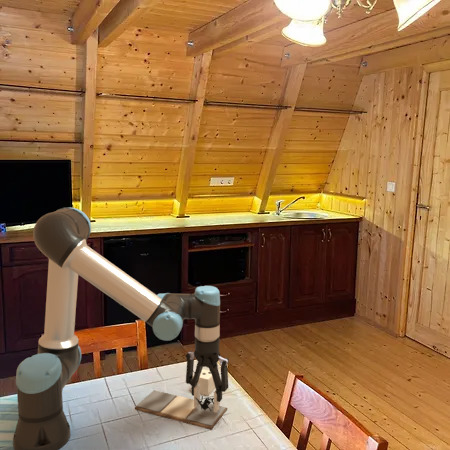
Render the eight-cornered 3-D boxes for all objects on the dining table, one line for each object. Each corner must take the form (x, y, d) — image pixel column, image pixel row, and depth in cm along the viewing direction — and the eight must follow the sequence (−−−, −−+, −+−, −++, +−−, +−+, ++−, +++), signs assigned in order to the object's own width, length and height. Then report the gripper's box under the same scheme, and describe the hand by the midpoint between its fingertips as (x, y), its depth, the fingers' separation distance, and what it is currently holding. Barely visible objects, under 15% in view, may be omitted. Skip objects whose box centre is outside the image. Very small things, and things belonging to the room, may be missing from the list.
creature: (200, 403, 152) (190, 410, 145) (201, 386, 153) (192, 393, 145) (222, 408, 150) (214, 415, 142) (224, 390, 150) (216, 397, 143)
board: (134, 409, 150) (134, 406, 150) (154, 391, 161) (154, 389, 161) (211, 429, 140) (211, 426, 140) (227, 409, 151) (227, 406, 151)
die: (192, 392, 161) (192, 375, 160) (199, 384, 167) (200, 368, 166) (208, 396, 159) (208, 379, 158) (215, 388, 164) (215, 371, 163)
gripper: (240, 337, 143) (239, 408, 146) (185, 328, 150) (185, 395, 154) (231, 347, 136) (230, 421, 140) (173, 336, 143) (173, 406, 147)
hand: (206, 407), depth 147 cm, fingers closed on creature, 6 cm apart
